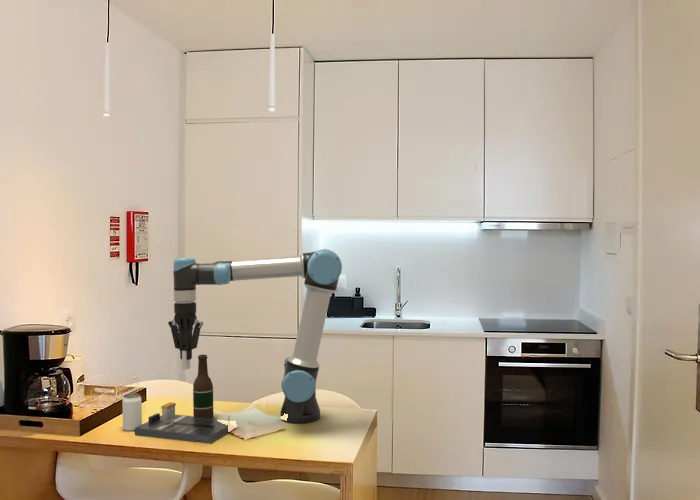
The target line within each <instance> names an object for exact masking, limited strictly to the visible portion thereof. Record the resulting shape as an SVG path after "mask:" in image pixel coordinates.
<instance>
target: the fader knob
mask: <svg viewBox="0 0 700 500" xmlns="http://www.w3.org/2000/svg"><path fill="white" fill-rule="evenodd" d="M176 406H177V403H176V402H168V403H166V404H163V405H161V410H162V411H161V412H162V413H161V416H162V423H169V422H171V421H173V420H175V415H176Z"/></svg>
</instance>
